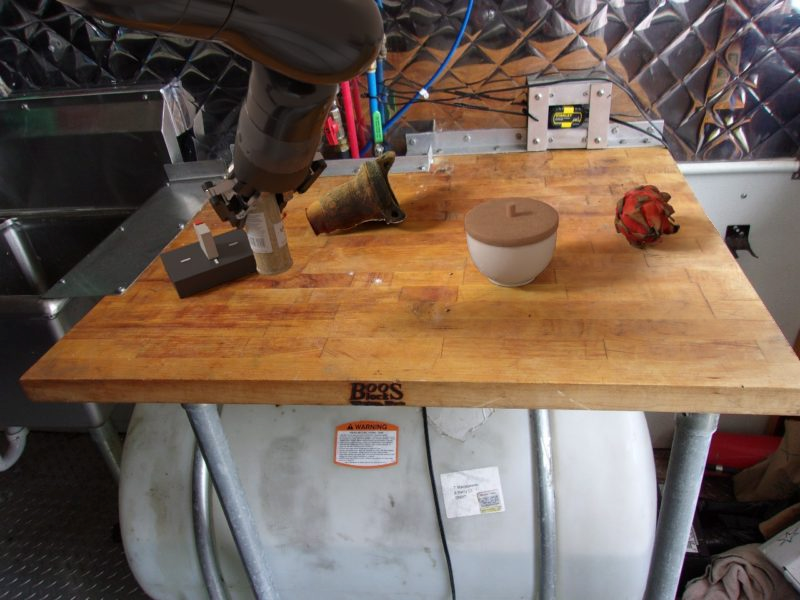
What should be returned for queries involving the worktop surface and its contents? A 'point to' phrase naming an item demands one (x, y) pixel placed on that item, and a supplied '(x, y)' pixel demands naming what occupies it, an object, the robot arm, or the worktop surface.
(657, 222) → the dragon fruit
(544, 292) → the worktop surface
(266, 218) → the sprinkles bottle
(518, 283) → the lidded bowl
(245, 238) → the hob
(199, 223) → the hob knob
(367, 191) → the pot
